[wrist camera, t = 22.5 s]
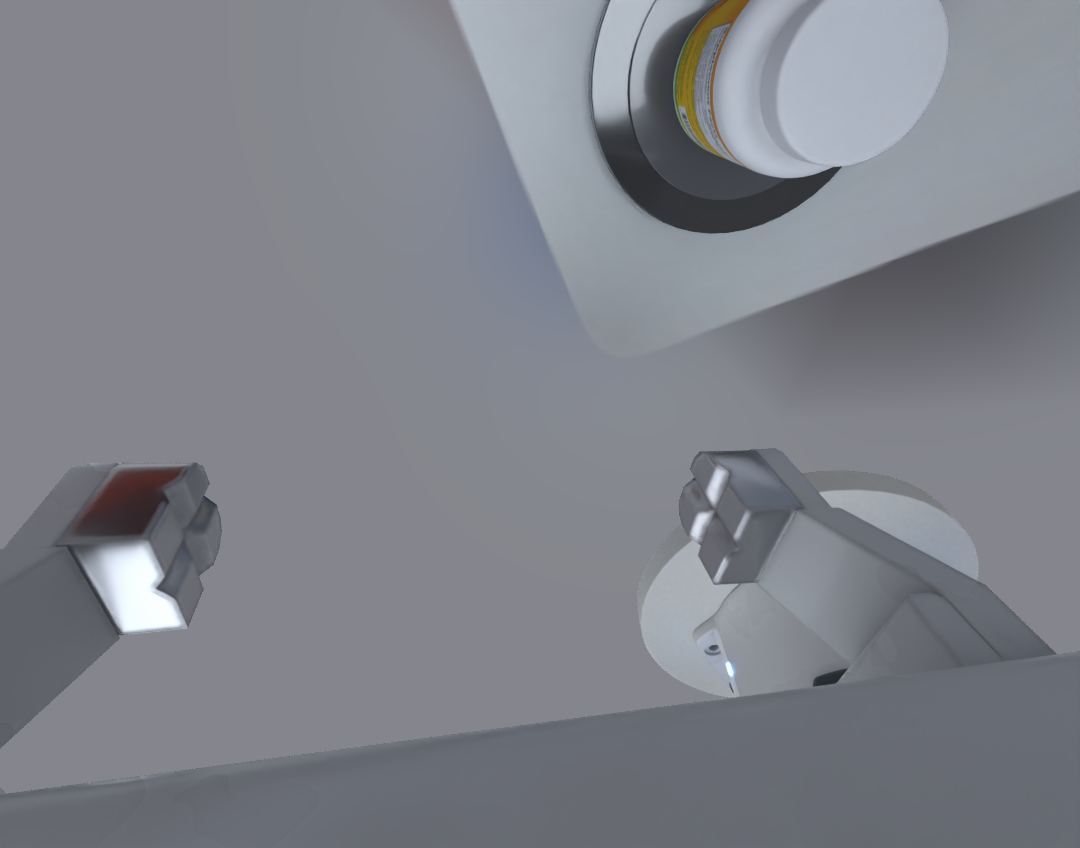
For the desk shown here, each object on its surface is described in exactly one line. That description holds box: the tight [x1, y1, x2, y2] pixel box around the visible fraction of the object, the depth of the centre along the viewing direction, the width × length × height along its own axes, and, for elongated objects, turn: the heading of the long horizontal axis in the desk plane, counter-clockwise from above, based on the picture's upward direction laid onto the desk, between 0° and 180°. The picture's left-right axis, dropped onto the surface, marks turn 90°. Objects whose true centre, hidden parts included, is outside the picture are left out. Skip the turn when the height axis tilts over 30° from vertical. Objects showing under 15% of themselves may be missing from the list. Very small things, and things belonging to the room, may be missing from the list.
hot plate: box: [589, 0, 842, 233], centre depth 22 cm, size 12×12×2 cm
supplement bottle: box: [673, 0, 949, 178], centre depth 17 cm, size 5×5×10 cm
